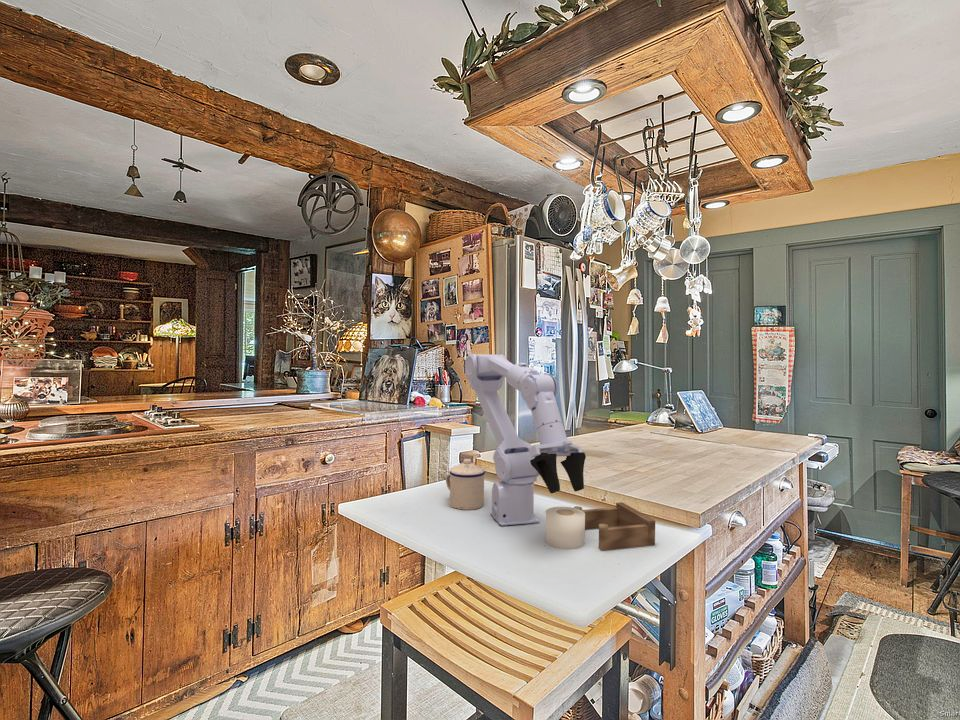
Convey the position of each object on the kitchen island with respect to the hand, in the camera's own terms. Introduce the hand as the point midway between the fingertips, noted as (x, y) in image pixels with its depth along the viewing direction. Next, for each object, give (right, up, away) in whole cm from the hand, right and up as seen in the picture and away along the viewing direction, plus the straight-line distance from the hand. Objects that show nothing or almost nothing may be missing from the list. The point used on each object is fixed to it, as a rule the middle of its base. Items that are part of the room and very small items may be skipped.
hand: (567, 491), depth 97 cm
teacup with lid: (-22, -11, +28) cm, 37 cm away
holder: (+10, -11, +6) cm, 16 cm away
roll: (0, -11, +4) cm, 12 cm away
